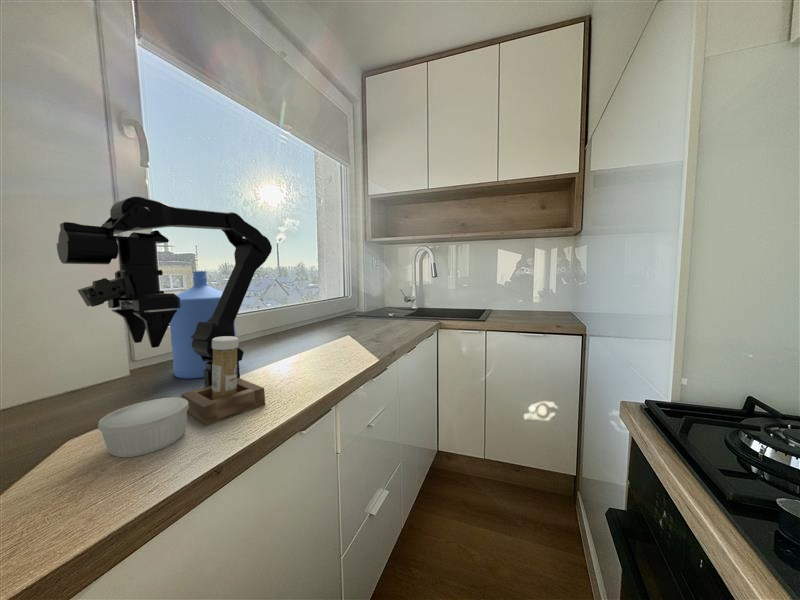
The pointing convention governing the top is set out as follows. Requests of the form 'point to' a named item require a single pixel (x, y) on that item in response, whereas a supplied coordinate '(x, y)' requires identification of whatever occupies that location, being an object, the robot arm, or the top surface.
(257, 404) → the socket block
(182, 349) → the water jug
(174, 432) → the ramekin
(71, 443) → the top surface
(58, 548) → the top surface
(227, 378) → the sprinkles bottle
